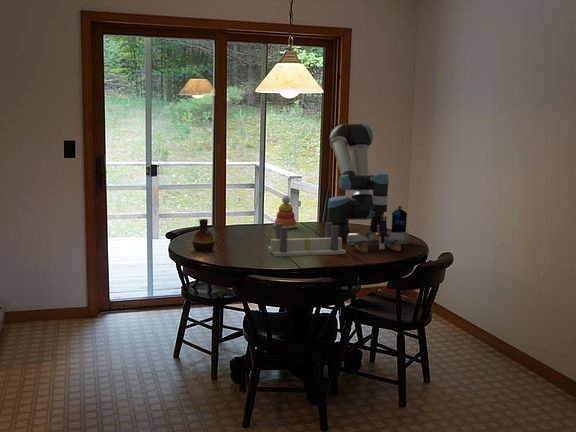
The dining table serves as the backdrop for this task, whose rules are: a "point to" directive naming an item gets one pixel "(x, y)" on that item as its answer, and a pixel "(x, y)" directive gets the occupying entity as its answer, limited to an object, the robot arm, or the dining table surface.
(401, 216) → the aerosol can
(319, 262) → the dining table surface
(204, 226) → the vase
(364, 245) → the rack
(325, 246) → the white cradle stand
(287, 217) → the stacking toy
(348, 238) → the tube
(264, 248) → the dining table surface
